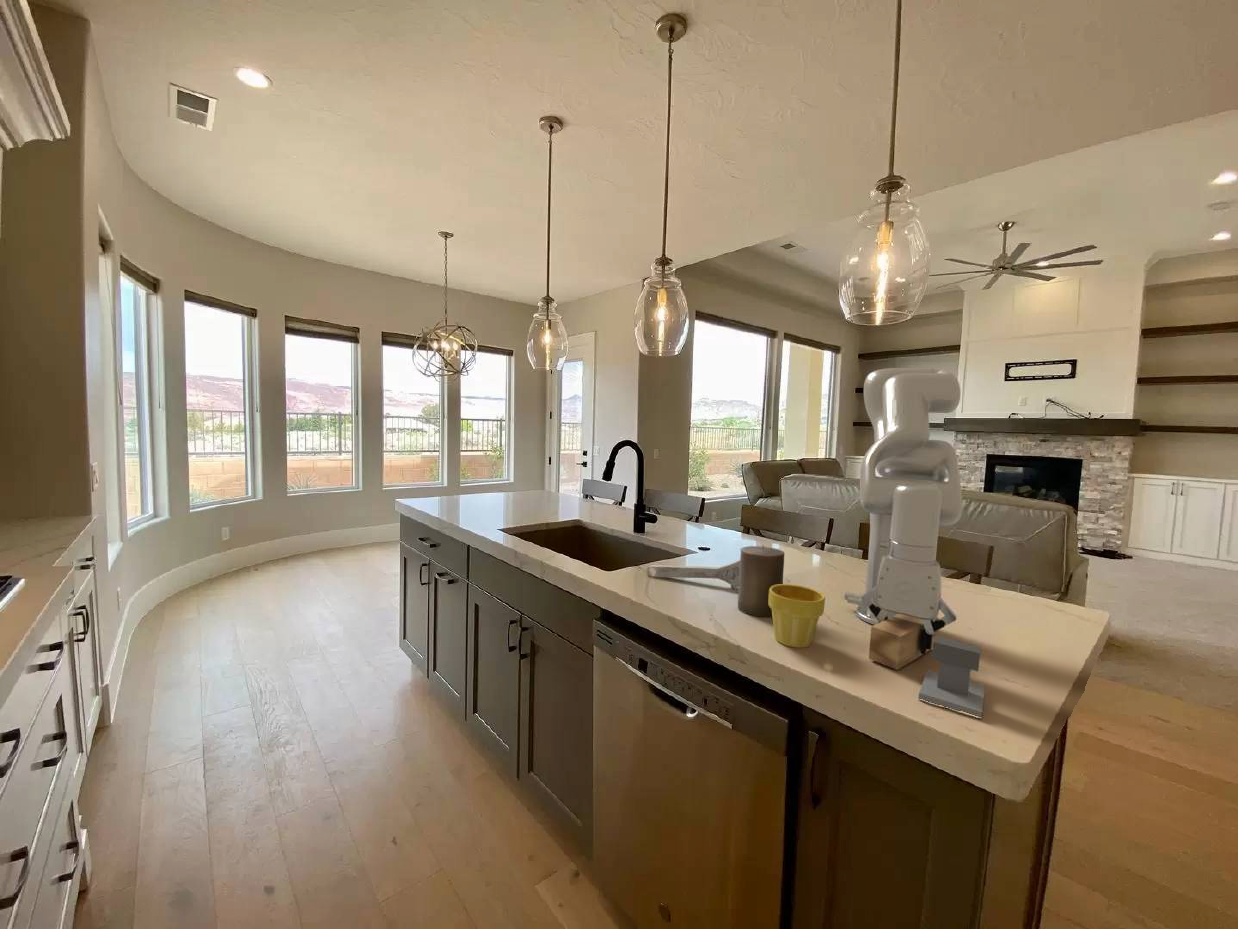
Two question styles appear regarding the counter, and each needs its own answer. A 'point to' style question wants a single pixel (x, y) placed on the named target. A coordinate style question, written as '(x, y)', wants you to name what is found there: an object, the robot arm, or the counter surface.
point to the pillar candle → (758, 578)
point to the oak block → (897, 640)
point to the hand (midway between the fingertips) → (903, 645)
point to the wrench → (700, 572)
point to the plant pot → (795, 613)
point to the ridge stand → (954, 677)
